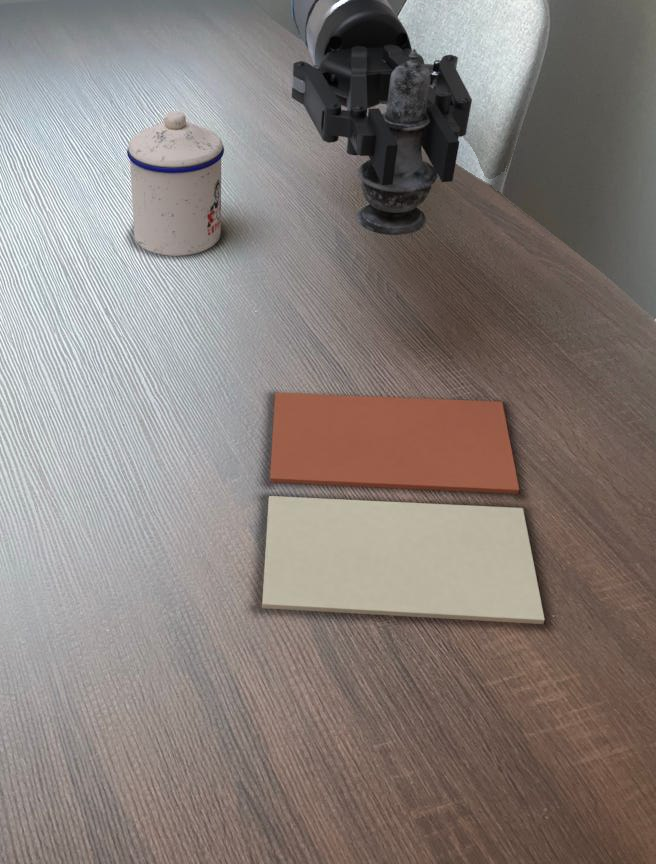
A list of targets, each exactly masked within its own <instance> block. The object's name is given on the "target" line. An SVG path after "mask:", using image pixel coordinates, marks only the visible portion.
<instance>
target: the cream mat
mask: <svg viewBox="0 0 656 864" xmlns="http://www.w3.org/2000/svg"><path fill="white" fill-rule="evenodd" d="M267 503H268V504H267V520H266V536H265V553H264V567H263V568H264V570H263V587H262V601H261V608H262V609H271V610H287V611H302V612H303V611H304V612H305V611H307V612H324V613H342V614H357V615H358V614H359V615H375V616H376V615H377V616H391V617H392V616H394V617H411V618H427V619H429V618H430V619H445V620H446V619H447V620H461V621H479V622H481V621H483V622H498V623H517V624H532V625H533V624H534V625H544V623H545V621H546V619H545V614H544V609H543V604H542V599H541V593H540V589H539V583H538V579H537V572H536V567H535V562H534V557H533V553H532V548H531V542H530V536H529V532H528V531H529V530H528V525H527V522H526V517H525V511H524V508H523V507H512V506H511V507H508V506H488V505H470V504H469V505H468V504H465V505H464V504H448V503H447V504H444V503H424V502H407V501H405V502H403V501H385V500H384V501H382V500H361V499H340V498H322V497H303V496H301V497H300V496H299V497H297V496H276V495H269V496H268V501H267Z"/></svg>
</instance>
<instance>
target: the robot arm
mask: <svg viewBox="0 0 656 864" xmlns="http://www.w3.org/2000/svg"><path fill="white" fill-rule="evenodd" d="M290 5H291V16H292V19H293V22H294V24H295V25H294V26H295V28H296V30H297V32H298V35H300V38H301V39H302V41H303V43H304V45H305V47H306V49H307V52H308V54H309V55H310V57H311V60H312V62H313V64H314V65H311V64H310V63H308V62H306V61H304V60H303V61H302V60H299V61H296V62H294V63H292V64H293V66H292V79H291V98H292V99H293V100H295V101H296V102H298V103H300V104H301V105H303V107H304V109H305V111H306V112H307V114H308V116H309V118H310V119H311V121H312V123H313V126H314V127H315V129H316V131H317V132H318V135H319V136H320V138H321V140H322V141H323V142H325V143H329V144H331V143H337V142H338V141H339V139H340V138H339V137H343V138H347V144H346V154H348V155H350V156H359V157H368V158H369V160H371V162H372V165H373V167H374V169H375V171H376V173H377V176H378V178H379V180H380V182H381V184H382V185H393V178H394V170H395V163H396V155H397V148H398V144H397V142H396V141H395V139H394V137H393V135H392V133H391V131H390V129H389V127H388V125H387V123H386V121H385V119H384V117H383V115H382V114H383V113H382V111H381V109H380V108H377V106H379V105H380V104H381V105H386V106H387V101H388V93H389V85H390V77H391V74H392V72H393V71H394V69H395V68H396V67H397V66H399V65H401V64H403V63H406V62H407V61H409V60H410V57H409V56H408V55H409V54H410V53H411V52H412V51H413V49H412V44H411V41H410V37H409V35H408V33H407V29H406V28H405V26H404V25H403V23H402V22H401V20H400V19H399V17H398V15H397V13H396V11H394V9H393V8H392V6H391V4H390V3H389V2H388V0H290ZM417 54H418V55H419V56H418V57H417V58H416V61H418V62H419V63H420V64H423V65H424V66H425V67H427V69H428V70H429V72H430V79H431V80H430V87H429V93H428V100H427V107H426V115H427V116H428V117H429V118H430V123H429V124H428V125H427V126H426V127H425V128H424V134H423V141H422V149H423V151H424V153H425V155H426V157H427V158H428V160H429V162H430V164H431V166H433V167H434V169H435V171H436V172H437V177H438V178H439V180H440V182H441V183H451V182H453V181H454V175H455V169H456V164H457V159H458V153H459V152H458V151H459V147H460V141H459V138H461V137H465V136H466V135H467V130H468V125H469V121H470V120H469V119H470V113H471V108H472V102H473V99H472V97H471V95H470V93H469V91H468V89H467V87H466V85H465V84H464V82H463V79H462V78H461V76H460V74H459V72H458V70H457V67H458V62H459V61H458V60H459V57H458V56H457V55H453V54H445V55H443V56H442V57H441V59H435V60H434V61H433V64H432V63H425V60H424V57H423V56H422V55H421V54H419V53H417ZM342 107H344V108H346V109H342ZM375 107H376V108H375Z"/></svg>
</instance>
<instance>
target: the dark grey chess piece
mask: <svg viewBox="0 0 656 864" xmlns="http://www.w3.org/2000/svg"><path fill="white" fill-rule="evenodd" d="M418 54H419V53H418V52H417V49H416V48H413V49H412V52H411V53H410V54H409V55H408V56H409V57H410V60H409V61H407V62H406V63H403V64H401V65H399V66H397V67H396V68H395V69H394V71H393V72H392V74H391V77H390V85H389V93H388V101H387V105H386V110H385V112H384V113H382V115H383V117H384V119H385V121H386V123H387V125H388V127H389V129H390V131H391V133H392V135H393V137H394V139H395V141H396V142H397V144H398V148H397V155H396V163H395V170H394V178H393V185H382V184H381V182H380V180H379V178H378V176H377V173H376V171H375V169H374V167H373V165H372V162H371V160H370V159H369V160H367V161H365V162H364V163H362V164H361V165H360V166H359V168H358V171H357V172H358V174H357V176H358V178H359V179H360V181H361V184H360V187H361V190H362V195H363V197H364V199H365V201H366V202H368V203H369V204H368V205H365V206H364V207H363V208H361V209H360V210H359V211H358V212H357V217H356V220H357V222H358V224H359V225H360V226H361V227H362V228H364V229H366V230H368V231H370V232H372V233H376V234H380V235H385V236H386V235H387V236H400V235H401V236H404V235H409V234H413V233H416V232H417V231H420V230H421V229H422V228H424V227H425V225H426V223H427V216H426V215H425V213H424V212H423V211H422V210H421V209H420V208H419V206H420V205H421V204H422V203H424V202H425V200H426V198H427V196H428V195H429V193H430V192H431V190H432V185H434V183H435V182H436V181H437V180H438V174H437V172H436V171H435V169H434V167H433V165H432V164H431V163H429V162H427V161H424V160H423V151H422V149H423V147H422V141H423V134H424V128H425V127H426V126H427V125H428V124H429V123H430V118H429V117H428V116H427V115H426V107H427V100H428V93H429V87H430V80H431V79H430V72H429V70H428V69H427V67H425V66H424V65H423V64H420V63H419V62H418V61H416V58H417V57H418V56H419V55H420V54H419V55H418Z"/></svg>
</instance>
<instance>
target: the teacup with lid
mask: <svg viewBox="0 0 656 864" xmlns="http://www.w3.org/2000/svg"><path fill="white" fill-rule="evenodd" d="M126 155H127V159H128V160H129V165H130V166H129V167H130V184H131V185H130V186H131V201H132V221H133V223H132V224H133V236H134V237H133V238H134V240H135V242H136V243H137V244H138V245H139V246H140V247H141V248H142V249H144V250H145V251H148V252H150V253H153V254H157V255H161V256H170V257H175V256H176V257H180V256H181V257H182V256H183V257H184V256H191V255H195V254H199V253H202V252H204V251H207V250H209V249H211V248H212V247H213V246H215V245H216V244H217V242H219V239H220V238H221V234H222V228H221V227H222V226H221V225H222V215H221V214H222V159H223V156H224V155H225V147H224V144H223V141H222V139H221V137H220V136H219V135H218V134H217V133H215V131H213V130H211V129H210V128H207V127H204V126H201V125H196V124H194V123H192V122H190V121H187V118H186V114H184V112H182V111H177V110H171V111H168V112H166V113H165V115H164V117H163V122H160V123H158V124H155V125H154V126H151V127H148V128H145V129H143V130H141V131H139V132H138V133H136V134H135V135H133V136H132V138H131V139H130V140H129V143H128V146H127V149H126Z"/></svg>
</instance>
